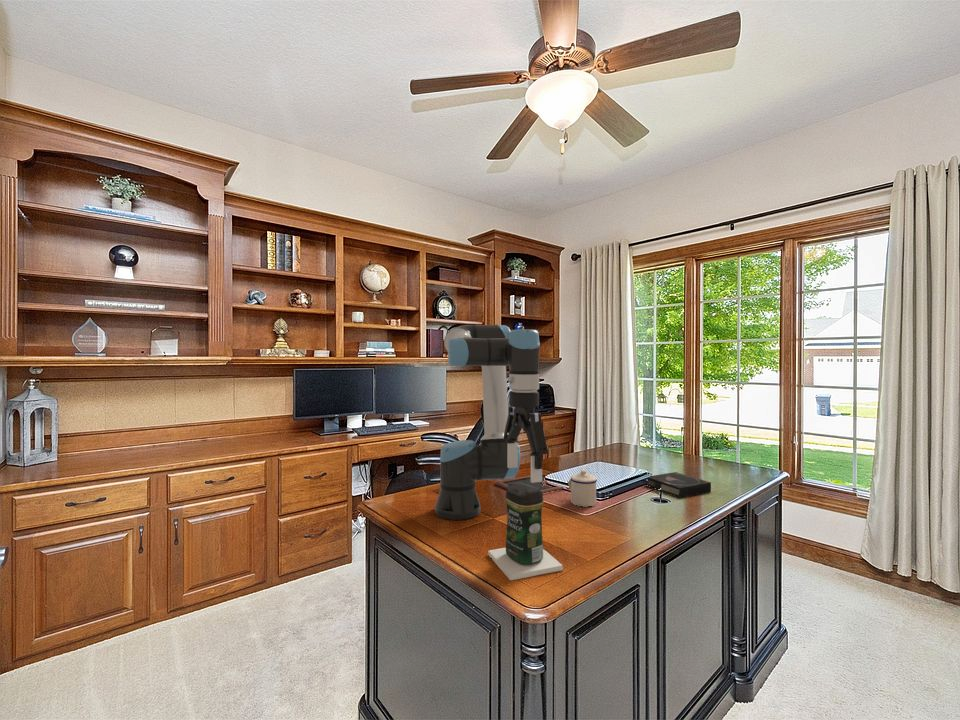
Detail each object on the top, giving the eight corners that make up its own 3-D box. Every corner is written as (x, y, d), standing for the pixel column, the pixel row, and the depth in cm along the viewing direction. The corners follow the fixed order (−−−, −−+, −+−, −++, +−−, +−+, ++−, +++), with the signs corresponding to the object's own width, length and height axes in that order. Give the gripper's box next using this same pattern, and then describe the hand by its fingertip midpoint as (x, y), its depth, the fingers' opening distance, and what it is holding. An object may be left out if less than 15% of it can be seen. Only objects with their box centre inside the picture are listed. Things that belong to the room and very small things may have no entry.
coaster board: (488, 555, 117) (488, 550, 117) (535, 546, 121) (535, 542, 121) (510, 580, 103) (510, 575, 103) (562, 570, 108) (562, 565, 108)
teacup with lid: (602, 504, 155) (602, 471, 155) (583, 509, 150) (583, 475, 150) (578, 495, 165) (578, 464, 165) (559, 499, 161) (559, 467, 161)
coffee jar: (500, 554, 115) (500, 482, 114) (525, 546, 119) (525, 477, 118) (523, 569, 106) (523, 492, 106) (548, 561, 110) (548, 487, 110)
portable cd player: (644, 486, 177) (644, 476, 177) (675, 481, 184) (675, 472, 184) (678, 499, 162) (678, 488, 162) (710, 492, 169) (710, 482, 169)
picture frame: (525, 499, 162) (576, 489, 175) (525, 494, 162) (576, 483, 175) (495, 486, 179) (543, 476, 192) (495, 481, 179) (543, 472, 192)
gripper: (491, 387, 122) (491, 463, 123) (533, 396, 99) (533, 490, 99) (516, 386, 125) (516, 461, 125) (562, 395, 101) (562, 487, 102)
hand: (523, 474), depth 112 cm, fingers open, 13 cm apart
